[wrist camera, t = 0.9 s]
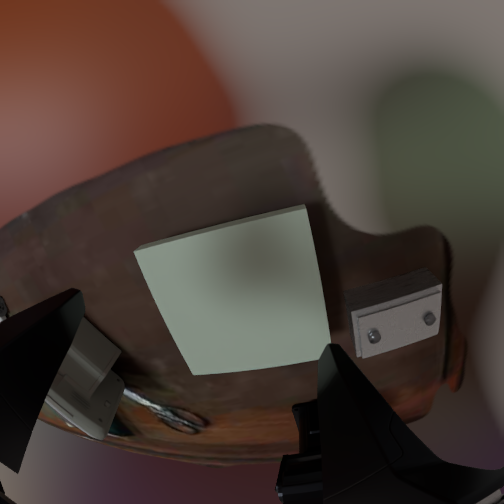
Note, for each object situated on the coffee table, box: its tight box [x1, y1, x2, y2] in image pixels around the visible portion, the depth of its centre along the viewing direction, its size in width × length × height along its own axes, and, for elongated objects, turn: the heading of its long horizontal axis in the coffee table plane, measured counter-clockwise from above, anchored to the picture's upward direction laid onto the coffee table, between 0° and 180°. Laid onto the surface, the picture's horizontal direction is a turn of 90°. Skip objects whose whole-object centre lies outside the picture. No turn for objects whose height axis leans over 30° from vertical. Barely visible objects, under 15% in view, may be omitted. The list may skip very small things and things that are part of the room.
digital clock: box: [45, 317, 125, 440], centre depth 24 cm, size 16×9×11 cm, turn 34°
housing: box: [343, 267, 442, 358], centre depth 21 cm, size 5×8×4 cm, turn 107°
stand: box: [134, 204, 331, 375], centre depth 21 cm, size 12×12×4 cm
